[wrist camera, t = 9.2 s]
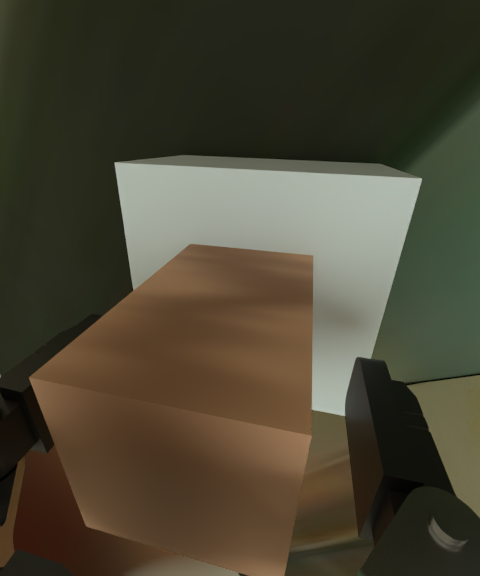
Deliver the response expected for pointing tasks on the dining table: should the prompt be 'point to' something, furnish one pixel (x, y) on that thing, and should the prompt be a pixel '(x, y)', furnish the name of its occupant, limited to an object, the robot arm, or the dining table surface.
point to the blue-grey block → (282, 236)
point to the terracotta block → (193, 408)
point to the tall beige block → (455, 431)
